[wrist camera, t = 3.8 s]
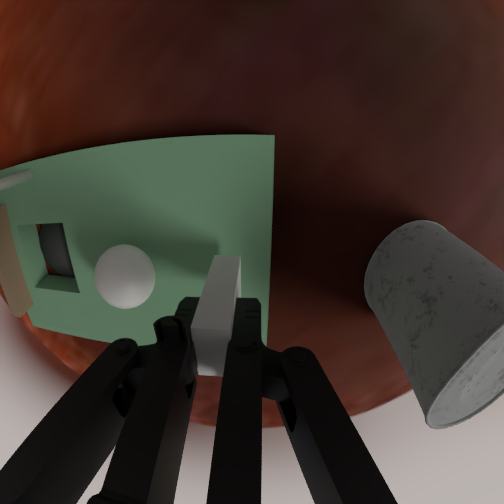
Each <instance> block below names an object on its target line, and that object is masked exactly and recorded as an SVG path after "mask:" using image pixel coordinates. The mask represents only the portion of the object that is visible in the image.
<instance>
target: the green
mask: <svg viewBox="0 0 504 504" xmlns="http://www.w3.org/2000/svg"><path fill="white" fill-rule="evenodd" d="M274 137H275V135H203V136H185V137H171V138H160V139H150V140H141V141H132V142H125V143H118V144H111V145H105V146H99V147H93V148H87V149H82V150H77V151H72V152H67V153H63V154H58V155H54V156H50V157H46V158H42V159H38V160H34V161H30V162H26V163H23V164H19V165H16V166H13V167H10V168H6V169H3V170H0V283H1V286H2V289H3V291H4V294H5V297H6V299H7V302H8V304H9V306H10V309H11V311H12V313H13V316H16V317H19V318H21V317H22V316H23V315H24V314H25V312H26V311H27V312H28V314H29V317H30V319H31V321H32V324H33V326H36V327H40V328H44V329H48V330H52V331H56V332H60V333H64V334H69V335H73V336H78V337H83V338H88V339H93V340H98V341H104V342H110V343H112V342H114V341H115V340H117V339H120V338H131V339H133V340H135V341H136V343H137V344H138V346H143V345H150V344H154V343H156V341H157V338H156V334H155V330H154V327H153V324H154V322H155V321H156V320H158V319H159V318H161V317H164V316H172V315H175V312H176V310H177V307H178V305H179V302H180V301H181V300H183V299H184V298H185V297H201V294H202V291H203V288H204V285H205V282H206V279H207V276H208V273H209V270H210V267H211V264H212V261H213V258H214V255H241V298H257V299H258V300H259V302H260V303H261V336H262V342H263V343H264V345H265V346H266V342H267V324H268V305H269V285H270V263H271V239H272V211H273V179H274ZM36 224H42V226H41V228H40V232H39V236H38V232H37V227H36ZM122 244H127V245H132V246H135V247H137V248H139V249H141V250H142V251H144V252H145V253H146V254H147V255H148V257H149V258H150V260H151V261H152V263H153V266H154V269H155V285H154V289H153V291H152V293H151V295H150V296H149V298H148V299H147V300H146V301H145V302H144V303H142V304H141V305H139V306H137V307H134V308H130V309H121V308H117V307H114V306H112V305H110V304H109V303H107V302H106V301H105V300H104V299H103V298H102V297H101V296H100V294H99V292H98V290H97V288H96V285H95V280H94V272H95V267H96V264H97V262H98V260H99V258H100V257H101V255H102V254H103V253H104V252H105V251H106V250H108V249H109V248H111V247H114V246H116V245H122ZM44 258H45V260H46V261H47V263H48V264H49V265H50V267H51V268H52V269H53V270H55V271H56V272H57V273H59V274H61V275H63V276H57V275H49V274H48V271H47V267H46V264H45V260H44ZM72 276H75V277H72Z"/></svg>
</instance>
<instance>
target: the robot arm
mask: <svg viewBox="0 0 504 504" xmlns="http://www.w3.org/2000/svg"><path fill="white" fill-rule="evenodd" d="M153 327H154V330H155V334H156V338H157V341H156V343H154V344H150V345H143V346H138V344H137V343H136V341H135V340H133V339H131V338H120V339H117V340H115V341H114V342H112V343H111V344H110V345H109V346H108V347H107V348H106V349H105V350H104V351H103V352H102V353H101V355H100V356H99V357H98V358H97V359H96V360H95V361H94V362H93V363H92V364H91V365H90V366H89V367H88V369H87V370H86V371H85V372H84V373H83V374H82V375H81V376H80V377H79V378H78V379H77V381H76V382H75V383H74V384H73V385H72V386H71V387H70V388H69V389H68V391H67V392H66V393H65V394H64V395H63V396H62V397H61V398H60V400H59V401H58V402H57V403H56V404H55V405H54V406H53V407H52V409H51V410H50V411H49V412H48V413H47V414H46V416H45V417H44V418H43V419H42V420H41V422H40V423H39V424H38V425H37V426H36V427H35V429H34V430H33V431H32V432H31V433H30V435H29V436H28V437H27V438H26V439H25V440H24V442H23V443H22V444H21V445H20V447H19V448H18V449H17V450H16V451H15V453H14V454H13V455H12V456H11V458H10V459H9V460H8V461H7V463H6V464H5V465H4V467H3V468H2V469H1V470H0V504H76V503H77V502H78V500H79V499H80V497H81V496H82V494H83V493H84V491H85V490H86V488H87V487H88V485H89V484H90V483H91V481H92V480H93V478H94V477H95V475H96V473H97V472H98V471H99V469H100V468H101V466H102V465H103V463H104V462H105V460H106V459H107V457H108V456H109V454H110V453H111V451H112V450H113V449H114V447H115V446H116V447H115V450H114V453H113V456H112V459H111V462H110V465H109V468H108V471H107V474H106V477H105V481H104V484H103V487H102V490H101V491H100V492H99V494H96V495H94V496H92V497H91V498H90V499H89V500H88V502H87V504H174V498H175V492H176V486H177V480H178V475H179V470H180V465H181V459H182V454H183V449H184V444H185V438H186V434H187V428H188V424H189V419H190V414H191V409H192V404H193V399H194V395H195V390H196V385H197V380H196V371H197V369H198V374H199V375H209V376H223V380H222V387H221V394H220V401H219V409H218V416H217V424H216V432H215V439H214V447H213V455H212V463H211V471H210V479H209V486H208V495H207V504H261V465H262V463H261V462H262V460H261V459H262V397H264V398H268V399H272V400H276V403H277V406H278V409H279V412H280V414H281V417H282V420H283V423H284V425H285V428H286V431H287V433H288V436H289V439H290V441H291V444H292V446H293V449H294V452H295V454H296V457H297V460H298V462H299V465H300V467H301V470H302V473H303V475H304V478H305V480H306V483H307V485H308V488H309V490H310V493H311V495H312V498H313V500H314V503H315V504H398V503H397V502H396V500H395V498H394V496H393V494H392V493H391V491H390V489H389V487H388V485H387V484H386V482H385V480H384V478H383V476H382V475H381V473H380V471H379V469H378V467H377V466H376V464H375V462H374V460H373V459H372V457H371V455H370V453H369V451H368V449H367V448H366V446H365V444H364V442H363V440H362V439H361V437H360V435H359V433H358V431H357V430H356V428H355V426H354V424H353V423H352V421H351V419H350V417H349V415H348V413H347V412H346V410H345V408H344V406H343V405H342V403H341V401H340V399H339V397H338V396H337V394H336V392H335V390H334V389H333V387H332V385H331V383H330V381H329V380H328V378H327V376H326V374H325V373H324V371H323V369H322V367H321V365H320V364H319V362H318V360H317V358H316V357H315V355H314V354H313V353H312V351H310V350H309V349H307V348H304V347H299V346H298V347H290V348H287V349H286V350H284V351H283V352H277V351H274V350H271V349H269V348H268V347H266V346H265V345H264V343H263V342H262V336H261V303H260V302H259V300H258V299H257V298H241V255H214V258H213V261H212V264H211V267H210V270H209V273H208V276H207V279H206V282H205V285H204V288H203V291H202V294H201V297H185V298H184V299H183V300H181V301H180V302H179V305H178V307H177V310H176V312H175V315H172V316H164V317H161V318H159V319H158V320H156V321H155V322H154V324H153Z"/></svg>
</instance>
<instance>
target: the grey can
mask: <svg viewBox="0 0 504 504" xmlns="http://www.w3.org/2000/svg"><path fill="white" fill-rule="evenodd" d="M364 291H365V297H366V300H367V302H368V305H369V306H370V308H371V309H372V310H373V312H374V313H375V315H376V317H377V319H378V321H379V322H380V324H381V326H382V328H383V330H384V332H385V334H386V336H387V338H388V339H389V341H390V343H391V345H392V347H393V349H394V351H395V353H396V355H397V357H398V359H399V361H400V363H401V365H402V367H403V369H404V371H405V373H406V375H407V378H408V380H409V382H410V384H411V386H412V388H413V390H414V393H415V395H416V397H417V399H418V401H419V404H420V406H421V408H422V411H423V413H424V415H425V422H426V424H427V425H428V426H429V427H430V428H434V429H442V428H448V427H451V426H454V425H457V424H459V423H462V422H464V421H466V420H468V419H470V418H471V417H473V416H474V415H476V414H478V413H479V412H481V411H482V410H484V409H485V408H487V407H488V406H489V405H491V404H492V403H493V402H494V401H495V400H497V399H498V398H499V397H500V396H501V395H502V394H503V393H504V272H503V271H502V270H500V269H499V268H498V267H497V266H495V265H494V264H493V263H492V262H490V261H489V260H488V259H486V258H485V257H484V256H482V255H481V254H480V253H478V252H477V251H476V250H474V249H473V248H471V247H470V246H469V245H467V244H466V243H464V242H463V241H462V240H460V239H459V238H457V237H456V236H454V235H453V234H451V233H450V232H448V231H447V230H446V229H445V228H444V227H443V226H441V225H440V224H438V223H436V222H433V221H429V220H416V221H413V222H410V223H406V224H404V225H402V226H401V227H399V228H397V229H395V230H394V231H393V232H391V233H390V234H389V235H388V236H387V237H386V238H385V239H384V240H383V241H382V242H381V243H380V245H379V246H378V247H377V248H376V250H375V252H374V253H373V255H372V257H371V259H370V261H369V263H368V266H367V270H366V273H365V280H364Z"/></svg>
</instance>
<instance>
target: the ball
mask: <svg viewBox="0 0 504 504" xmlns="http://www.w3.org/2000/svg"><path fill="white" fill-rule="evenodd" d="M94 280H95V285H96V288H97V290H98V292H99V294H100V296H101V297H102V298H103V299H104V300H105V301H106V302H107V303H109V304H110V305H112V306H114V307H117V308H121V309H130V308H134V307H137V306H139V305H141V304H142V303H144V302H145V301H146V300H147V299H148V298H149V296H150V295H151V293H152V291H153V289H154V285H155V269H154V266H153V263H152V261H151V260H150V258H149V257H148V255H147V254H146V253H145V252H144V251H142V250H141V249H139V248H137V247H135V246H132V245H127V244H122V245H116V246H114V247H111V248H109V249H108V250H106V251H105V252H104V253H103V254H102V255H101V257H100V258H99V260H98V262H97V264H96V267H95V272H94Z"/></svg>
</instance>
